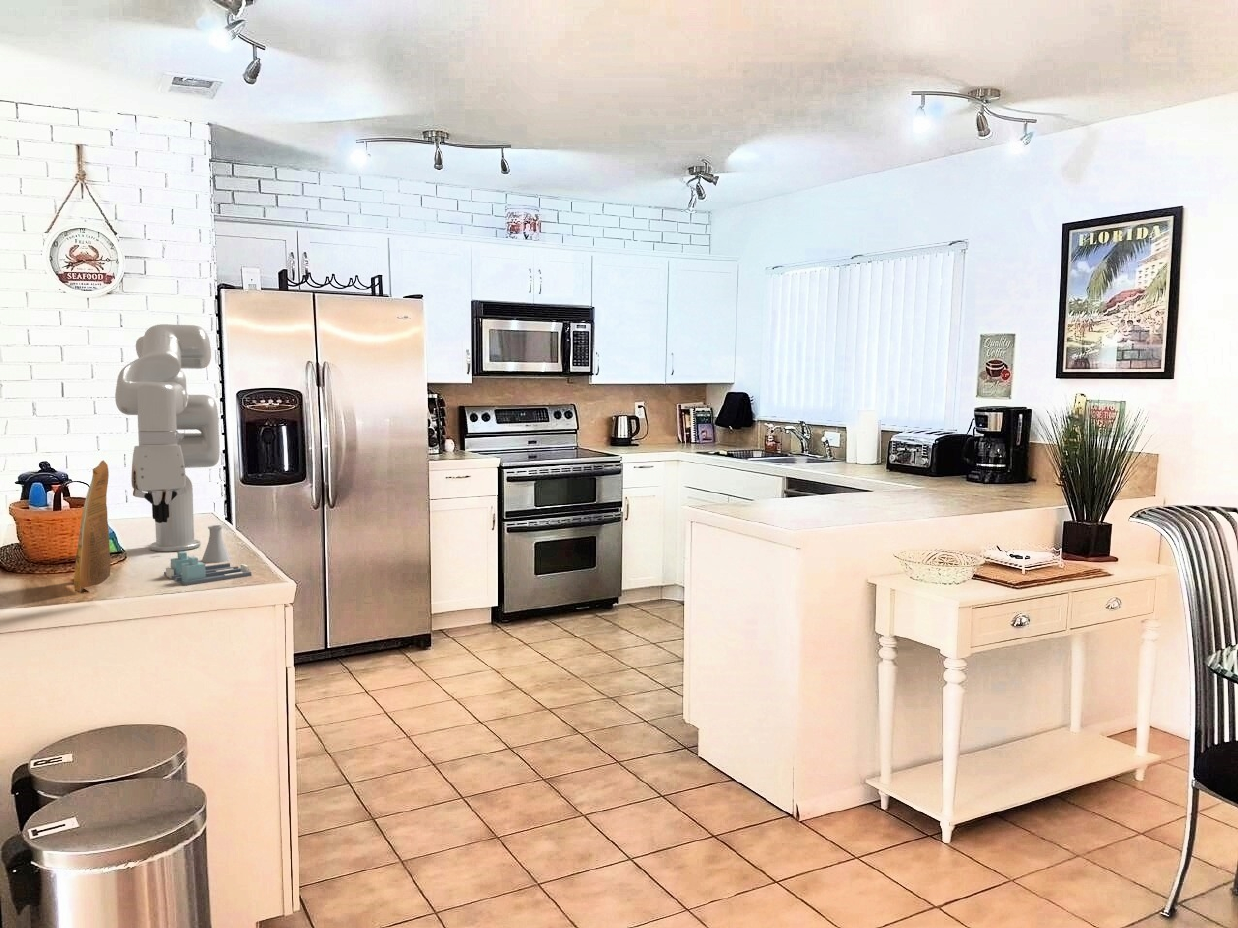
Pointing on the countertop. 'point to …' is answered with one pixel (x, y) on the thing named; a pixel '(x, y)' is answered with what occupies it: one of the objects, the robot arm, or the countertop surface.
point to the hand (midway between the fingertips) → (161, 521)
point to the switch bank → (212, 574)
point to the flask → (216, 546)
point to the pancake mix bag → (94, 534)
